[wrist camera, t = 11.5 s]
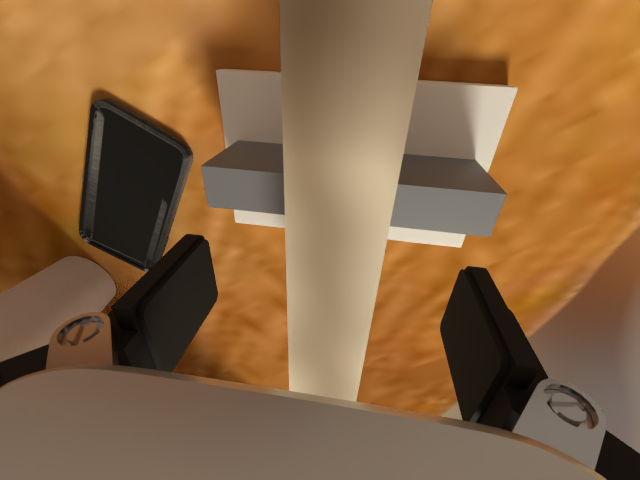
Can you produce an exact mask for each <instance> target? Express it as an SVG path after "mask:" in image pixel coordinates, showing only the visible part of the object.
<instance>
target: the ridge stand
mask: <svg viewBox="0 0 640 480" xmlns="http://www.w3.org/2000/svg"><path fill="white" fill-rule="evenodd" d="M216 76H217V84H218V92H219V99H220V107H221V115H222V123H223V130H224V138H225V146H226V149H225V150H223V151H222V152H220V153H219V154H218V155H216V156H215V157H213V158H212V159H210V160H209V161H207V162H206V163H204V164H203V165H202V166H201V169H202V174H203V180H204V186H205V191H206V197H207V202H208V207H215V208H224V209H234V216H235V222H236V223H245V224H254V225H263V226H272V227H281V228H285V204H284V167H283V129H282V92H281V72H275V71H258V70H240V69H219V70H216ZM517 89H518V88H517V87H513V86H510V85H499V84H482V83H464V82H447V81H430V80H418V81H417V86H416V91H415V97H414V102H413V107H412V112H411V117H410V123H409V128H408V133H407V138H406V144H405V149H404V154H403V159H402V164H401V170H400V175H399V180H398V185H397V190H396V196H395V201H394V206H393V211H392V217H391V222H390V227H389V232H388V237H387V239H388V240H397V241H406V242H415V243H424V244H433V245H442V246H451V247H460V248H461V246H462V243H463V240H464V238H465V235H466V234H467V235H476V236H485V237H490V235H491V233H492V230H493V228H494V225H495V223H496V220H497V218H498V216H499V213H500V211H501V208H502V206H503V203H504V201H505V198H506V196H507V194H506V193H505V191H504V190H503V189H502V188H501V187H500V186H499V185H498V184H497V183H496V182H495V181H494V179H493V178H492V177H491V176H490V175H489V174H488V170H489V168H490V165H491V162H492V159H493V156H494V154H495V151H496V148H497V145H498V142H499V140H500V137H501V134H502V131H503V128H504V126H505V123H506V120H507V117H508V114H509V112H510V109H511V106H512V103H513V100H514V98H515V95H516V92H517Z"/></svg>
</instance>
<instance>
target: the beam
mask: <svg viewBox="0 0 640 480" xmlns="http://www.w3.org/2000/svg"><path fill="white" fill-rule="evenodd" d="M432 3H433V0H279V17H280V54H281V92H282V129H283V167H284V204H285V242H286V279H287V316H288V354H289V391H294V392H300V393H306V394H312V395H318V396H324V397H330V398H336V399H342V400H348V401H354V402H356V399H357V394H358V389H359V384H360V378H361V373H362V368H363V363H364V358H365V352H366V347H367V342H368V337H369V331H370V326H371V321H372V316H373V311H374V305H375V300H376V295H377V290H378V284H379V279H380V274H381V269H382V264H383V258H384V253H385V248H386V243H387V237H388V232H389V227H390V222H391V217H392V211H393V206H394V201H395V196H396V190H397V185H398V180H399V175H400V170H401V164H402V159H403V154H404V149H405V144H406V138H407V133H408V128H409V123H410V117H411V112H412V107H413V102H414V97H415V91H416V86H417V81H418V76H419V70H420V65H421V60H422V55H423V50H424V44H425V39H426V34H427V29H428V23H429V18H430V13H431V8H432Z"/></svg>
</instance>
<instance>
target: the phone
mask: <svg viewBox="0 0 640 480" xmlns="http://www.w3.org/2000/svg"><path fill="white" fill-rule="evenodd" d="M146 122H147V123H146ZM148 123H149V124H150V125H149V124H148ZM151 125H152V126H151ZM153 126H154V127H153ZM155 127H156V128H155ZM173 137H175V138H173ZM192 161H193V153H192V151H191V148H190V147H189V146H188V144H187V143H185V142H184V141H183V140H181V139H179V138H177V137H176V136H174V135H172V134H171V133H169V132H167V131H165V130H164V129H162V128H160V127H158V126H157V125H155V124H153V123H152V122H150V121H148V120H146V119H145V118H143V117H141V116H139V115H138V114H136V113H134V112H132V111H131V110H129V109H127V108H126V107H124V106H122V105H120V104H119V103H117V102H115V101H113V100H110V99H103V100H98V101H95V102H94V103H93V104H92V106H91V109H90V120H89V130H88V141H87V151H86V162H85V172H84V182H83V193H82V203H81V214H80V224H79V234H80V236H81V237H82V239H83V240H84V241H85V242H87V243H88V244H90V245H92V246H94V247H96V248H98V249H100V250H102V251H104V252H106V253H108V254H110V255H112V256H114V257H116V258H118V259H121V260H123V261H125V262H127V263H129V264H131V265H133V266H135V267H137V268H139V269H141V270H143V271H146V272H148V271H149V270H150V269H151V268H152V267H153V266H154V265H155V264H156V263H157V262H158V261H159V260H160V259H161V258H162V255H163V252H164V250H165V247H166V244H167V241H168V238H169V237H168V236H169V233H170V230H171V227H172V224H173V221H174V217H175V214H176V211H177V208H178V205H179V202H180V199H181V196H182V192H183V189H184V186H185V183H186V180H187V177H188V174H189V171H190V168H191V164H192Z"/></svg>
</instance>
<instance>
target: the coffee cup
mask: <svg viewBox="0 0 640 480" xmlns="http://www.w3.org/2000/svg"><path fill="white" fill-rule="evenodd" d="M115 294H116V285H115V283H114V281H113V279H112V277H111V276H110V275H109V274H108V273H107V272H106V271H105V270H104V269H103V268H102V267H101V266H99V265H98V264H96V263H95V262H93V261H91V260H89V259H86V258H83V257H79V256H67V257H65V258H63V259H61V260H59V261H57V262H56V263H54V264H52V265H50V266H49V267H47V268H45V269H43V270H41V271H40V272H38V273H36V274H34V275H33V276H31V277H29V278H27V279H26V280H24V281H22V282H20V283H18V284H17V285H15V286H13V287H11V288H10V289H8V290H6V291H4V292H2V293H1V294H0V362H1V361H4V360H7V359H10V358H12V357H15V356H18V355H20V354H23V353H26V352H29V351H31V350H34V349H37V348H39V347H42V346H45V345H48V344H49V342H50V338H51V336H52V334H53V333H54V331H55V330H56V329H57V328H58V327H59V326H60V325H62V324H63V323H64V322H66V321H68V320H70V319H71V318H73V317H76V316H78V315H81V314H85V313H90V312H101V311H102V310H103V309H104V308H105V307H106V305H107V304H108V303H109V302H110V301H111V300H112V299H113V297H114V296H115Z"/></svg>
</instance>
